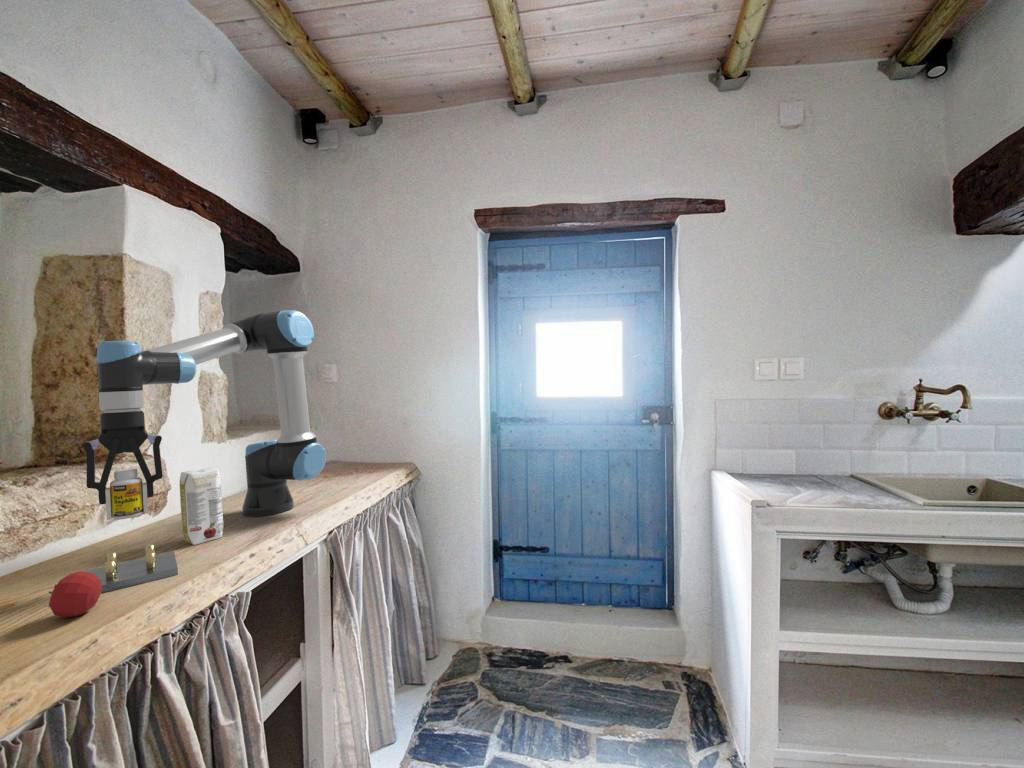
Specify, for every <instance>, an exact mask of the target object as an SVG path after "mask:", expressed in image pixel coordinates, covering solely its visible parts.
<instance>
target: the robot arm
mask: <svg viewBox="0 0 1024 768" xmlns="http://www.w3.org/2000/svg"><path fill="white" fill-rule="evenodd" d="M314 337H315V332H314V327H313V324H312V322H311V320H310V318H308V317H307V316H306V315H305V314H304V313H302V312H301V311H299V310H294V309H293V310H292V309H291V310H290V309H289V310H287V309H285V310H279V311H278V310H277V311H271V312H270V311H269V312H263V313H256V314H252V315H251V316H248V317H247V316H246V317H244V318H242V319H238V320H236V321H233V322H230V323H227V324H224V325H223V326H222V327H221V329H218V330H214V331H211V332H206V333H204V334H199V335H195V336H193V337H188V338H186V339H185V338H184V339H182V340H178V341H174V342H171V343H168V344H164V345H160V346H156V347H154V348H150V349H149V348H148V349H147V350H142V346H141V344H140V343H139V342H137V341H133V340H132V341H131V340H108V341H107V340H105V341H102V342H99V344H98V345H97V351H96V364H97V378H98V380H97V383H98V400H99V404H98V405H99V410H100V411H102V413H101V414H100V415H99V416H100V417H99V418H100V434H99V436H98V438H96V439H94V440H90V441H85V442H84V443H83V444H82V446H83V449H84V451H85V453H86V488H88V489H95V490H97V492H98V504H99V505H101V506H102V505H105V510H106V520H107V521H108V520H112V519H113V518H112V513H111V495H110V487H107V483H108V480H109V478H110V474H111V471H112V468H113V464H114V461H115V458H116V455H120V454H123V453H128V454H129V453H133V455H134V458H135V460H136V463H137V464H138V467H139V469H140V470H141V473H142V476H143V477H144V479H145V482H142V487H143V505H144V512H143V514H149V504H148V502H149V501H148V498H152V497H154V495H155V494H154V483H155V482H156V481H158V480H160V479H162V478H163V468H162V465H163V464H162V459H161V449H160V446H161V443H162V439H163V438H162V435H159V434H157V435H154V434H149V433H148V432H147V430H146V424H145V412H144V411H143V410H141V409H143V408H145V404H144V403H145V402H144V386H145V385H146V386H147V385H161V384H162V385H163V384H175V385H179V384H183V383H184V384H186V383H190V382H191V381H192V380H193V379H194V378H195V376H196V374H197V365H199V364H203V363H206V362H209V361H211V360H215V359H218V358H220V357H223V356H226V355H230V354H238V355H240V354H242V353H246V352H252V351H261V350H263V351H264V350H266V355H267V356H268V357H269V358H270V359H272V361H273V368H274V370H273V371H274V379H275V388H276V397H277V399H276V400H277V407H278V416H279V425H280V426H279V427H280V436H279V438H278V439H273V440H267V441H262V442H254V443H249V444H248V445H247V446H245V456H244V459H245V460H244V461H245V472H246V484H247V487H246V489H247V490H246V494H245V497H244V501H243V503H242V509H241V511H242V515H243V516H245V517H263V516H271V515H276V514H281V513H284V512H286V511H289V510H291V509H293V508H294V507H295V505H294V498H293V495H292V493H291V491H290V488H289V486H288V481H287V480H290V481H301V482H302V481H306V480H312V479H315V478H317V477H318V476H319V475H320V474H321V473H322V472H323V471H322V470H323V469H324V468H325V465H326V461H327V452H326V449H325V447H324V446H323V445H322V444H320V443H318V442H317V435H316V434H315V433H313V432H312V431H311V424H310V414H309V405H308V395H307V394H308V393H307V385H306V377H305V376H306V375H305V366H304V364H305V363H304V357H305V356H306V355H307V354H308V346H309V345H311V344H312V342H313V340H314ZM146 440H149V444H150V445H152V454H153V463H154V472H155V473H154V474H152V473H151V472H150V469H149V467H148V465H147V462H146V459H145V458H144V456H143V453H142V451H141V447H142V445H143V444H144V443H145V441H146ZM99 444H101V445H102V446H103V447H104V448H105V449H106V450H108V451H109V452H108V455H107V458H106V460H105V463H104V467H103V471H102V473H101V476H100V479H99V482H98V481H96V451H97V450H98V448H99Z"/></svg>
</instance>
